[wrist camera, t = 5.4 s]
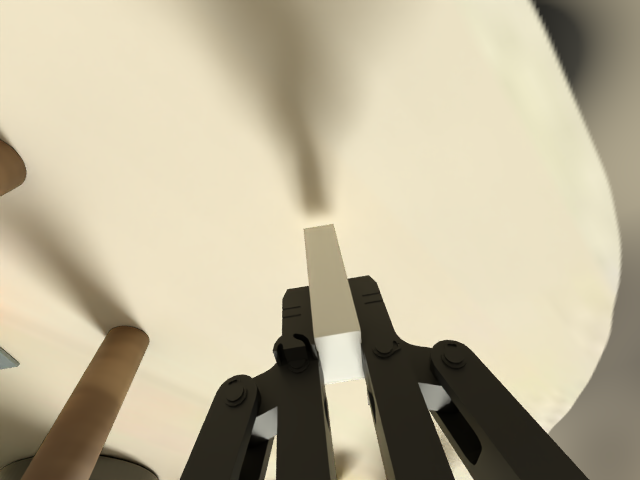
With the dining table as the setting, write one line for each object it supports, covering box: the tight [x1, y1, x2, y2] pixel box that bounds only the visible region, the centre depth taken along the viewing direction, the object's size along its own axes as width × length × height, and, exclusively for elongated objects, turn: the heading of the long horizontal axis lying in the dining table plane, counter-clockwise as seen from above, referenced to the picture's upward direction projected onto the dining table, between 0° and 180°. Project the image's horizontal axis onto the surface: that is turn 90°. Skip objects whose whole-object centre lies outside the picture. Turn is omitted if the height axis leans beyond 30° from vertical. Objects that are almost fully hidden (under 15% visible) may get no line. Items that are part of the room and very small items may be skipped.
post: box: [21, 326, 149, 480], centre depth 17 cm, size 3×3×9 cm
